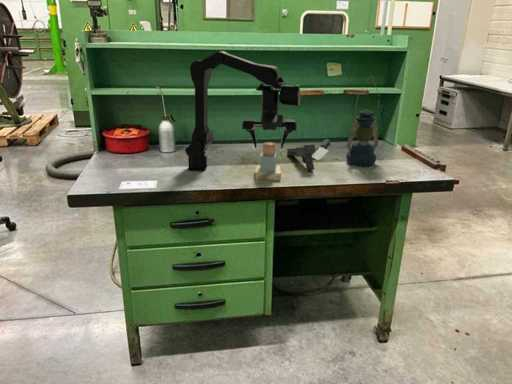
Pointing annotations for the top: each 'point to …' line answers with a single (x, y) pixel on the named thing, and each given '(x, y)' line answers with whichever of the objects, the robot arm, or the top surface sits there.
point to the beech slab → (268, 174)
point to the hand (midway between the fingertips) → (268, 148)
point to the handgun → (304, 155)
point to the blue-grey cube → (268, 163)
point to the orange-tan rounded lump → (269, 149)
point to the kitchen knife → (321, 150)
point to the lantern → (363, 139)
